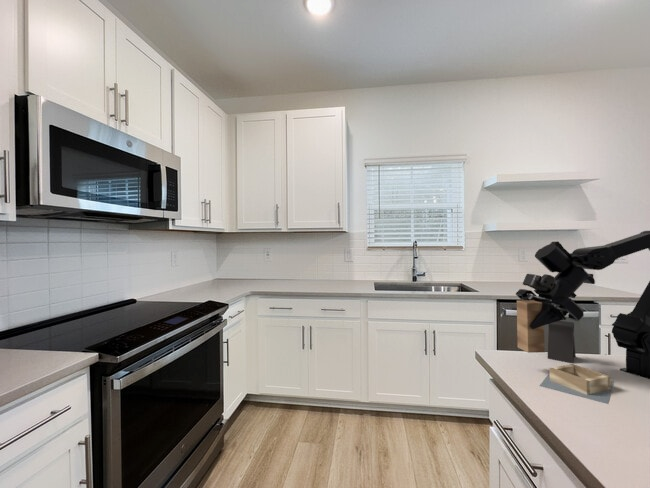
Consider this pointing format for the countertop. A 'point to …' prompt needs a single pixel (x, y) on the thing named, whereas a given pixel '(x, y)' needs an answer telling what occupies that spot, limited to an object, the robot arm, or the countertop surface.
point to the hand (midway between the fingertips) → (525, 325)
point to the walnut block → (526, 335)
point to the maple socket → (580, 379)
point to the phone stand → (561, 341)
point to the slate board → (597, 396)
